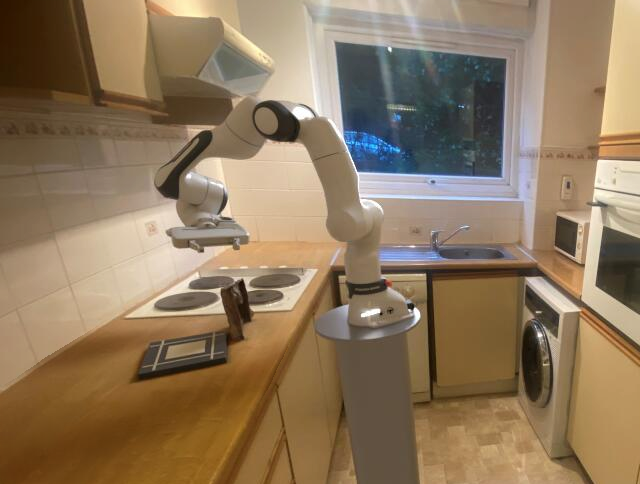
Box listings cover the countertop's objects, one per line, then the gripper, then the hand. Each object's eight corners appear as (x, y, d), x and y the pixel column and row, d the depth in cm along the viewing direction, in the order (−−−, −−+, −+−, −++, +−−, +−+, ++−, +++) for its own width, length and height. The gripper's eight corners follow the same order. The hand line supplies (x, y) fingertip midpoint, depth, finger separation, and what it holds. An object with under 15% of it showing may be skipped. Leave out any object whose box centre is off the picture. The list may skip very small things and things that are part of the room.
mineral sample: (244, 340, 125) (231, 290, 120) (228, 342, 124) (214, 292, 118) (256, 318, 140) (245, 273, 134) (242, 320, 139) (230, 274, 133)
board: (227, 334, 129) (226, 329, 128) (226, 362, 113) (225, 356, 112) (151, 347, 120) (149, 341, 120) (139, 379, 105) (137, 373, 104)
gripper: (162, 219, 128) (177, 242, 122) (239, 217, 143) (256, 238, 137) (164, 238, 132) (178, 261, 125) (239, 234, 146) (255, 255, 140)
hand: (219, 249), depth 131 cm, fingers open, 8 cm apart
